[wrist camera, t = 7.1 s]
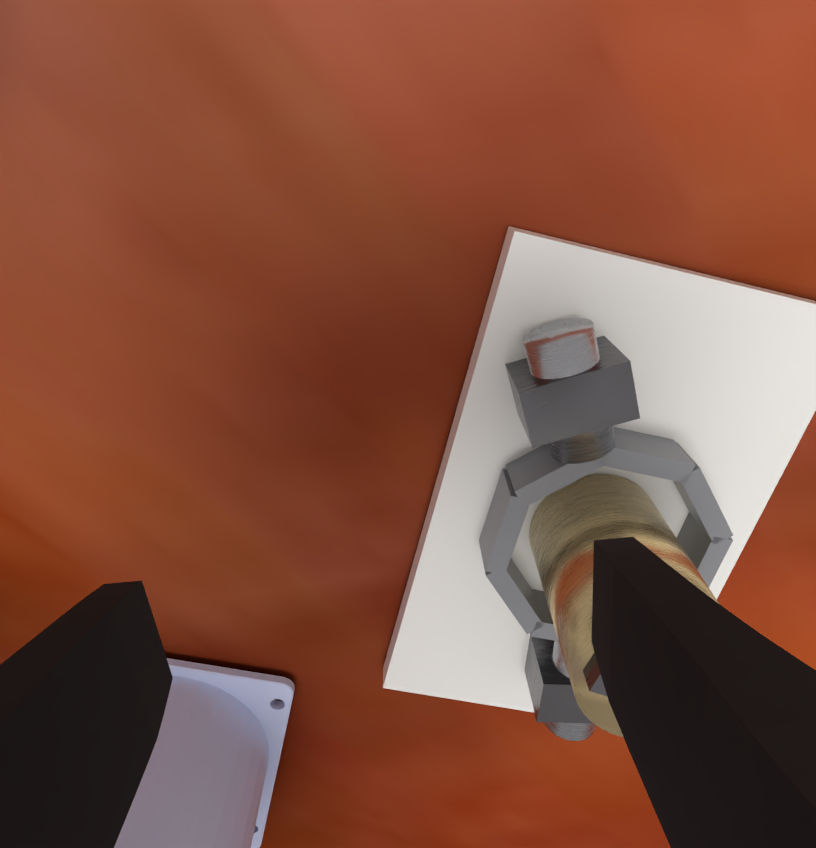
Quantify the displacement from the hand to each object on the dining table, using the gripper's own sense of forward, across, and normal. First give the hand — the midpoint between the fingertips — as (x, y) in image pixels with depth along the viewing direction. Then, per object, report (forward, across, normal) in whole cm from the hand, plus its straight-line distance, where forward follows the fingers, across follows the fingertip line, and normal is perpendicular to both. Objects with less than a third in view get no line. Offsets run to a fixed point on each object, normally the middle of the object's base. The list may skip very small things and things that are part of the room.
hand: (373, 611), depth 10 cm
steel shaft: (+10, -5, +10) cm, 15 cm away
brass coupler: (+9, -6, +5) cm, 12 cm away
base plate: (+10, -6, +5) cm, 13 cm away
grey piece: (+10, -5, 0) cm, 11 cm away
